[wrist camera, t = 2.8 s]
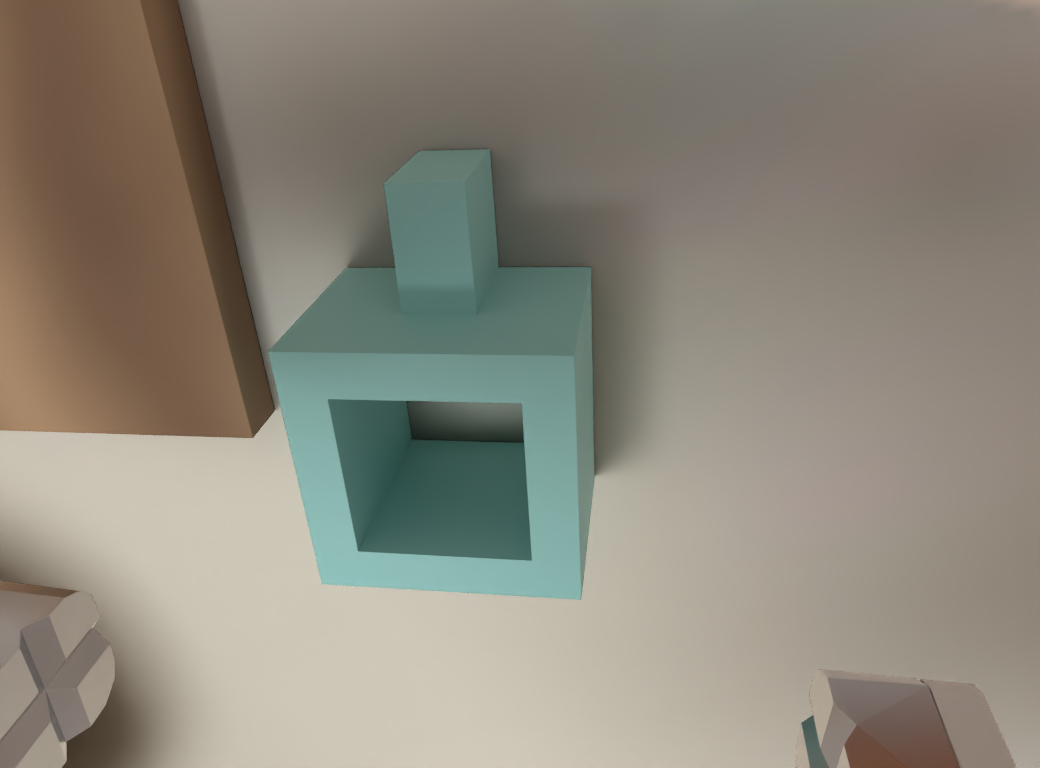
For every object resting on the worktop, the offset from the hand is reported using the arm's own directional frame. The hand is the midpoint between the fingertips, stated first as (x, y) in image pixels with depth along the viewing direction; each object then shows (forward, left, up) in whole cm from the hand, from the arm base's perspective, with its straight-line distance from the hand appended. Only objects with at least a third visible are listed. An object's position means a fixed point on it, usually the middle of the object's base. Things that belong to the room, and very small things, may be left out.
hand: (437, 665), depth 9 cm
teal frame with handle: (+1, 0, -9) cm, 9 cm away
